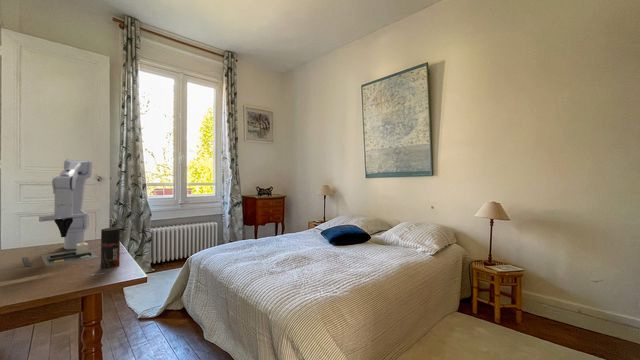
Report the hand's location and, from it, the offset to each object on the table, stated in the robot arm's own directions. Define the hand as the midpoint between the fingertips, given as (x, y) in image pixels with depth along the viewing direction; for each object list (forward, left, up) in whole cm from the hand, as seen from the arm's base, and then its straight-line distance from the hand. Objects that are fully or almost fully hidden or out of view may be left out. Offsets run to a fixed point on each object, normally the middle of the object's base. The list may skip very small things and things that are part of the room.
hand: (63, 236), depth 115 cm
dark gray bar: (-2, -10, -10) cm, 15 cm away
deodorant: (+23, +11, -10) cm, 27 cm away
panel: (0, +2, -10) cm, 10 cm away
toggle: (0, +6, -9) cm, 11 cm away
